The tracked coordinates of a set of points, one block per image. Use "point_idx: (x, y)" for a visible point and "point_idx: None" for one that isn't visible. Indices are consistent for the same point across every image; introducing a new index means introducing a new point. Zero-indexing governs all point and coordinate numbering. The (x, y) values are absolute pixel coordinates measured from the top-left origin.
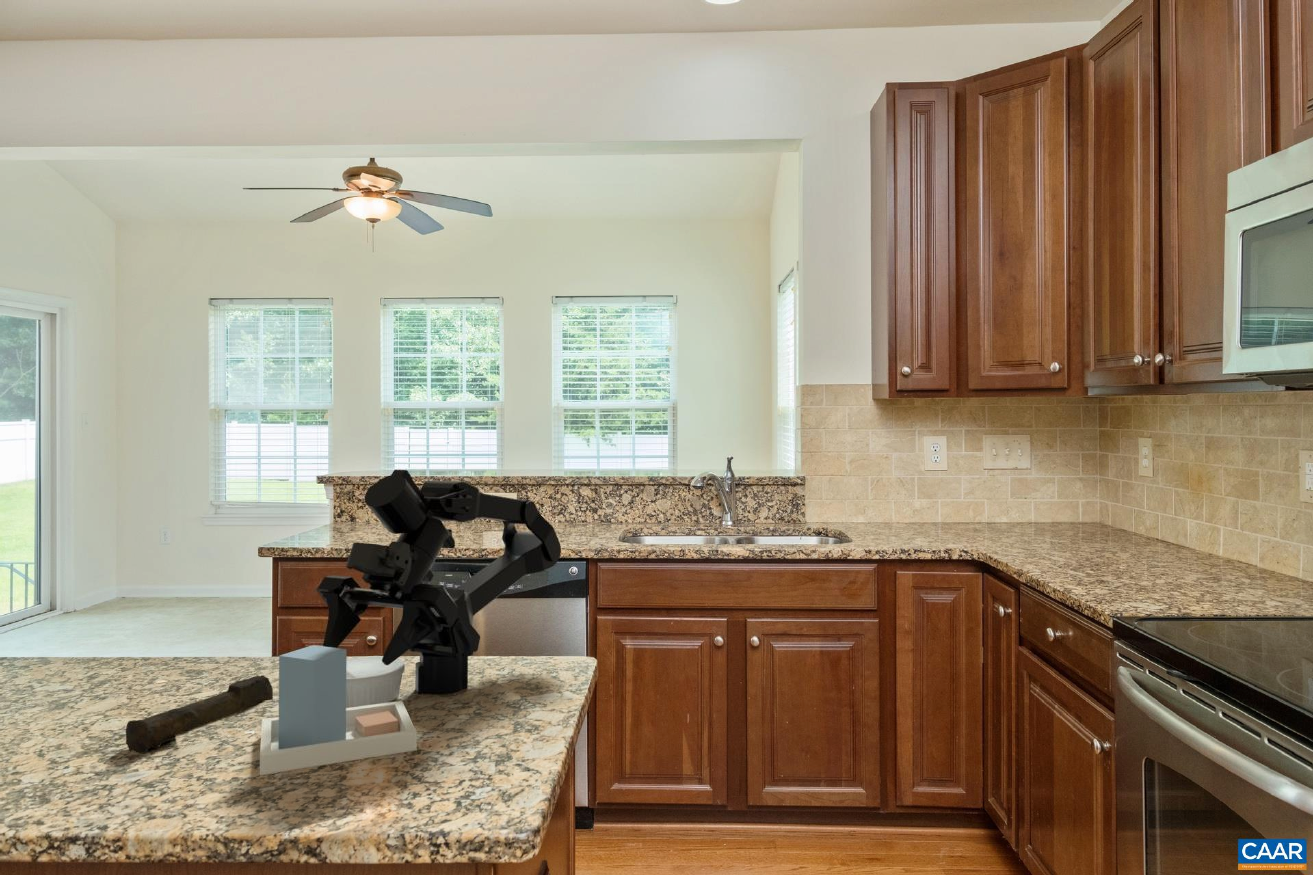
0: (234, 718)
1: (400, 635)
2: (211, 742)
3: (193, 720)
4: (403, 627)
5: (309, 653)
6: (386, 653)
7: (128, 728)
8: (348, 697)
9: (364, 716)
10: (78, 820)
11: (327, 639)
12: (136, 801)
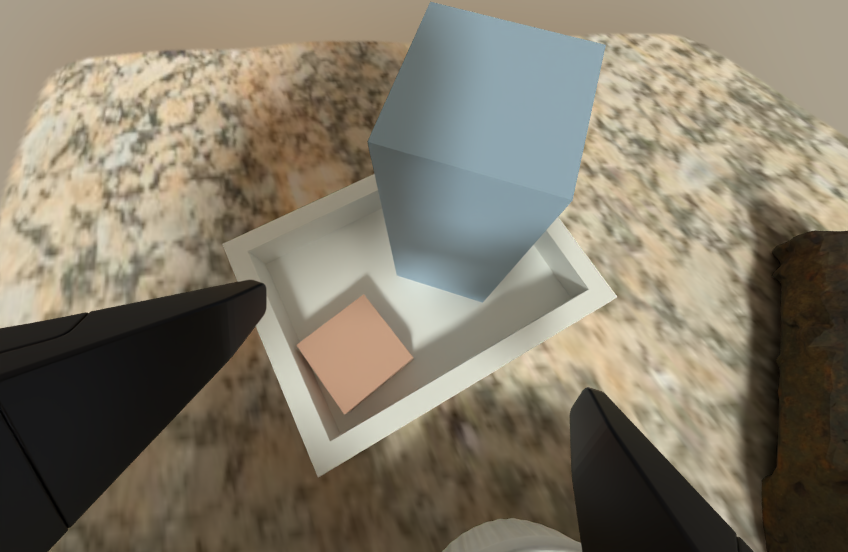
0: (774, 467)
1: (90, 314)
2: (696, 312)
3: (800, 338)
4: (15, 337)
5: (500, 75)
6: (231, 289)
7: None
8: (509, 530)
9: (391, 364)
10: (640, 58)
11: (628, 437)
12: (615, 101)
